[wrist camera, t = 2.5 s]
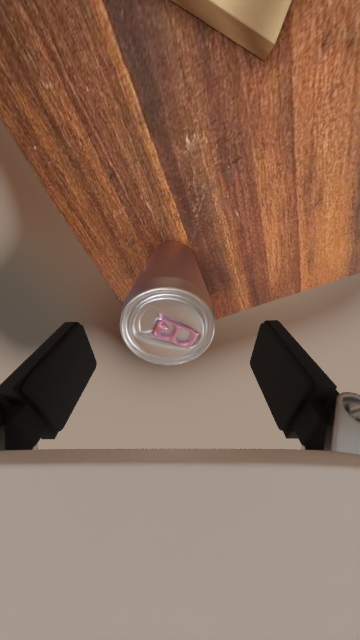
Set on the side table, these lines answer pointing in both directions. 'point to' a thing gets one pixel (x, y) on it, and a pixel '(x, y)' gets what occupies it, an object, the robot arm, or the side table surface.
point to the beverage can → (168, 308)
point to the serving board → (243, 20)
